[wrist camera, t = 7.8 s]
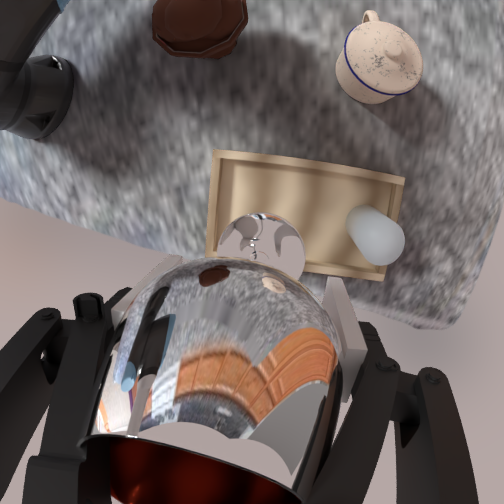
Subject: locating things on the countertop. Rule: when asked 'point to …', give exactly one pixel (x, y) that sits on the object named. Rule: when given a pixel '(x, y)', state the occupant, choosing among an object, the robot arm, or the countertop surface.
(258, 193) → the tray
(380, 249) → the white rounded capsule
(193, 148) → the countertop surface
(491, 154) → the countertop surface
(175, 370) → the wineglass
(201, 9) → the ice cream bowl
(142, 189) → the countertop surface
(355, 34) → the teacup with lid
